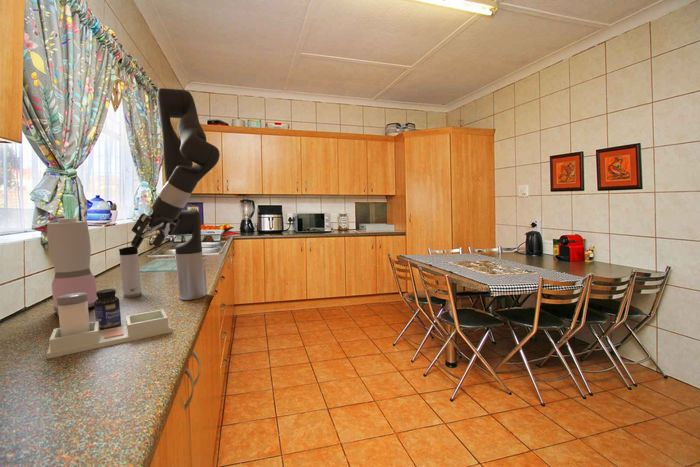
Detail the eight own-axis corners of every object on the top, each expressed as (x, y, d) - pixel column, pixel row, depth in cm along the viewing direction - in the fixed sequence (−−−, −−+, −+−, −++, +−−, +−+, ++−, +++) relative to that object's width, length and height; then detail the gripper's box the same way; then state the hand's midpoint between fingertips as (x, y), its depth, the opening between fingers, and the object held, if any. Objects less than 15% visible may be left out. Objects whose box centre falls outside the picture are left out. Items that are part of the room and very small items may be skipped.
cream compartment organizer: (166, 321, 109) (163, 279, 108) (172, 332, 100) (168, 286, 99) (52, 344, 94) (46, 295, 93) (47, 358, 85) (40, 304, 84)
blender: (90, 312, 121) (80, 218, 118) (47, 317, 117) (35, 220, 114) (106, 300, 136) (98, 216, 132) (68, 304, 132) (58, 218, 129)
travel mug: (136, 297, 139) (131, 246, 137) (119, 297, 139) (114, 247, 137) (145, 293, 145) (141, 244, 143) (129, 293, 145) (125, 244, 143)
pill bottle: (109, 331, 102) (105, 293, 101) (91, 330, 103) (87, 293, 102) (126, 323, 108) (123, 288, 107) (109, 322, 109) (106, 287, 108)
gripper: (178, 195, 112) (153, 238, 114) (144, 190, 98) (116, 239, 99) (196, 208, 111) (170, 251, 112) (164, 205, 97) (136, 254, 98)
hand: (145, 246), depth 106 cm, fingers open, 8 cm apart
